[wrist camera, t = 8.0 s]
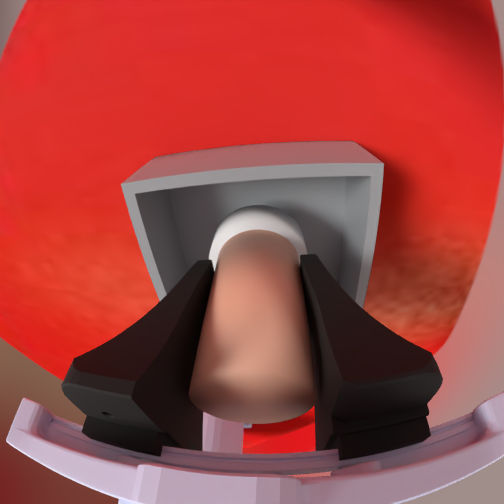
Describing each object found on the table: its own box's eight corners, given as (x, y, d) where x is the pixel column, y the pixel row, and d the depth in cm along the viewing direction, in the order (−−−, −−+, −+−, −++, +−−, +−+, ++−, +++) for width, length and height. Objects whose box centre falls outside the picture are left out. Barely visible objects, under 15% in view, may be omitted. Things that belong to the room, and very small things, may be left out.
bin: (343, 284, 17) (357, 331, 14) (189, 291, 18) (175, 338, 15) (353, 141, 12) (383, 163, 9) (155, 156, 13) (121, 184, 10)
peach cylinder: (304, 202, 12) (342, 356, 6) (303, 278, 15) (322, 424, 8) (206, 208, 13) (151, 358, 6) (221, 283, 15) (197, 425, 9)
